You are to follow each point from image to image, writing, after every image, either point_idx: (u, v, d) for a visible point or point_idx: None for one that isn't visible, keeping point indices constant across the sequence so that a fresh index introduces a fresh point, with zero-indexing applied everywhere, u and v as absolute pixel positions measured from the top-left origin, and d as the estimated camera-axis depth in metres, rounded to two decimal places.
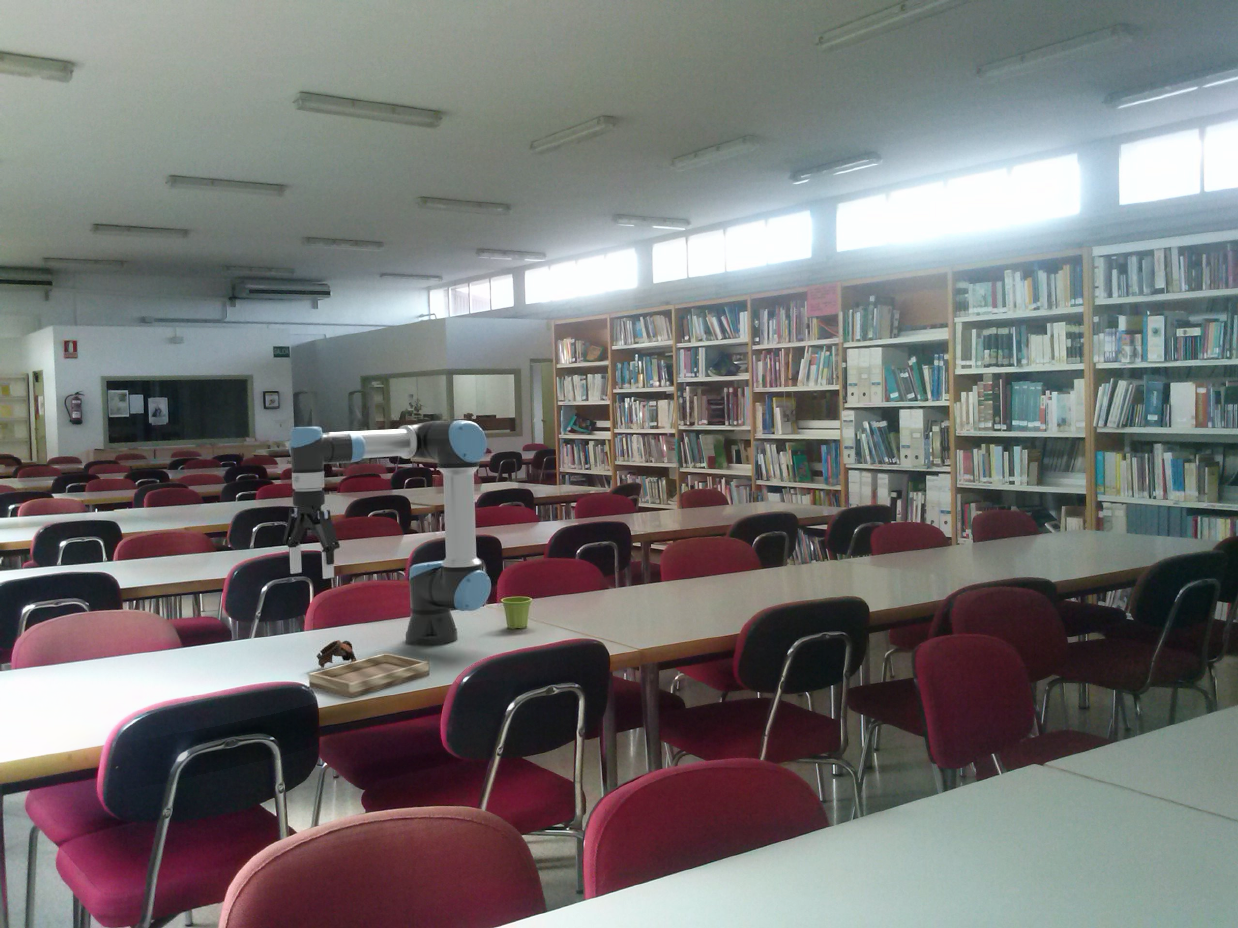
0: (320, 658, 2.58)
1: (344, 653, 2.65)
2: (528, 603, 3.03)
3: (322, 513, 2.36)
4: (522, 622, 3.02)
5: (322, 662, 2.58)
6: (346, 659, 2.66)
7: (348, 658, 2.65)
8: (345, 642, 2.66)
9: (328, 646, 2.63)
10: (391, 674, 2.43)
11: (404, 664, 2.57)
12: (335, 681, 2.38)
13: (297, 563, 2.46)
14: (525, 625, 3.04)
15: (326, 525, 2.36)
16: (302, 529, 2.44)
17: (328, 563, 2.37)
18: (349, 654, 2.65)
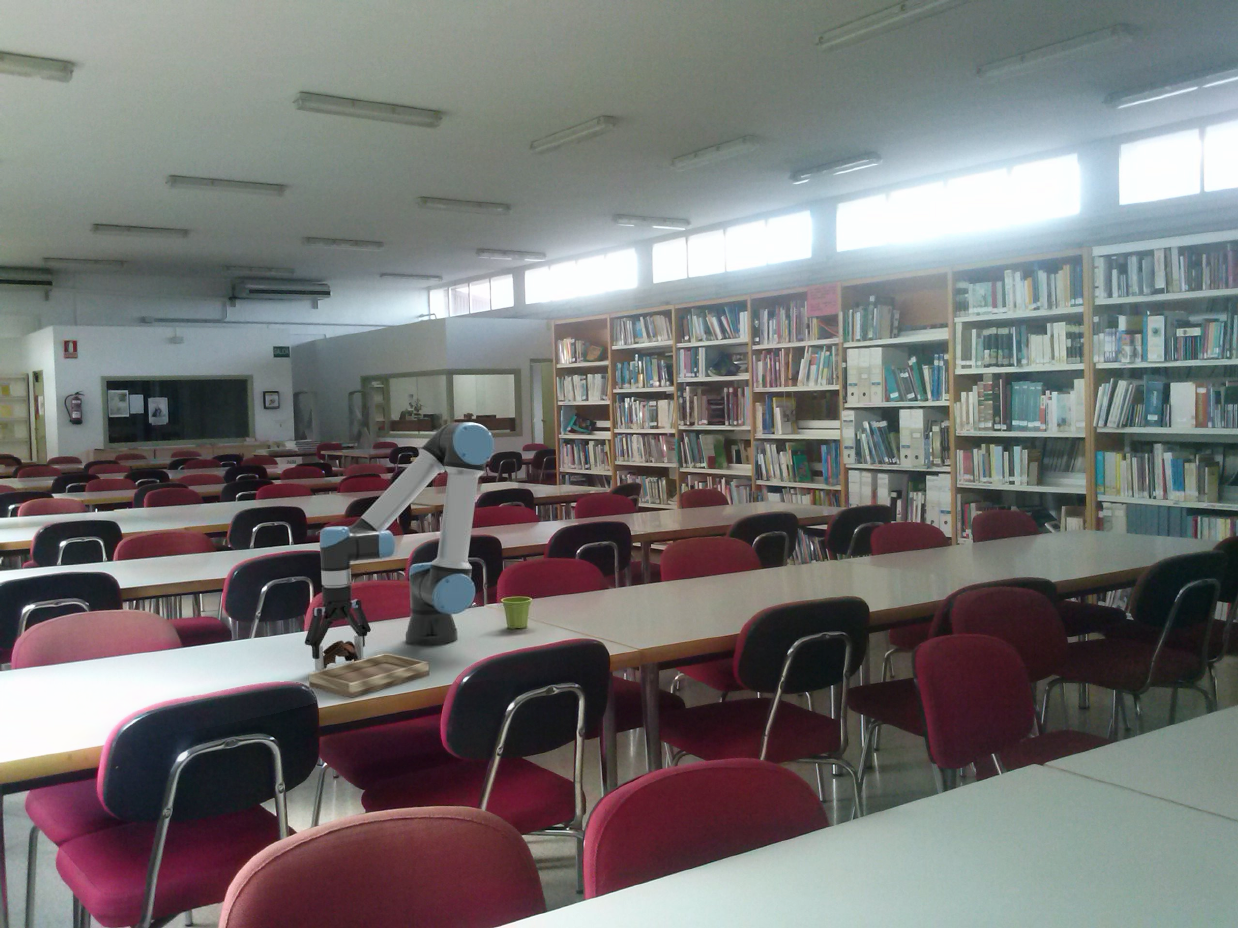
0: (323, 658, 2.57)
1: (347, 653, 2.65)
2: (528, 603, 3.03)
3: (313, 610, 2.57)
4: (522, 622, 3.02)
5: (325, 663, 2.57)
6: (349, 659, 2.65)
7: (351, 658, 2.65)
8: (348, 642, 2.65)
9: (331, 646, 2.63)
10: (391, 674, 2.43)
11: (404, 664, 2.57)
12: (335, 681, 2.38)
13: (358, 651, 2.67)
14: (525, 625, 3.04)
15: (312, 621, 2.56)
16: (349, 620, 2.65)
17: None
18: (352, 654, 2.64)
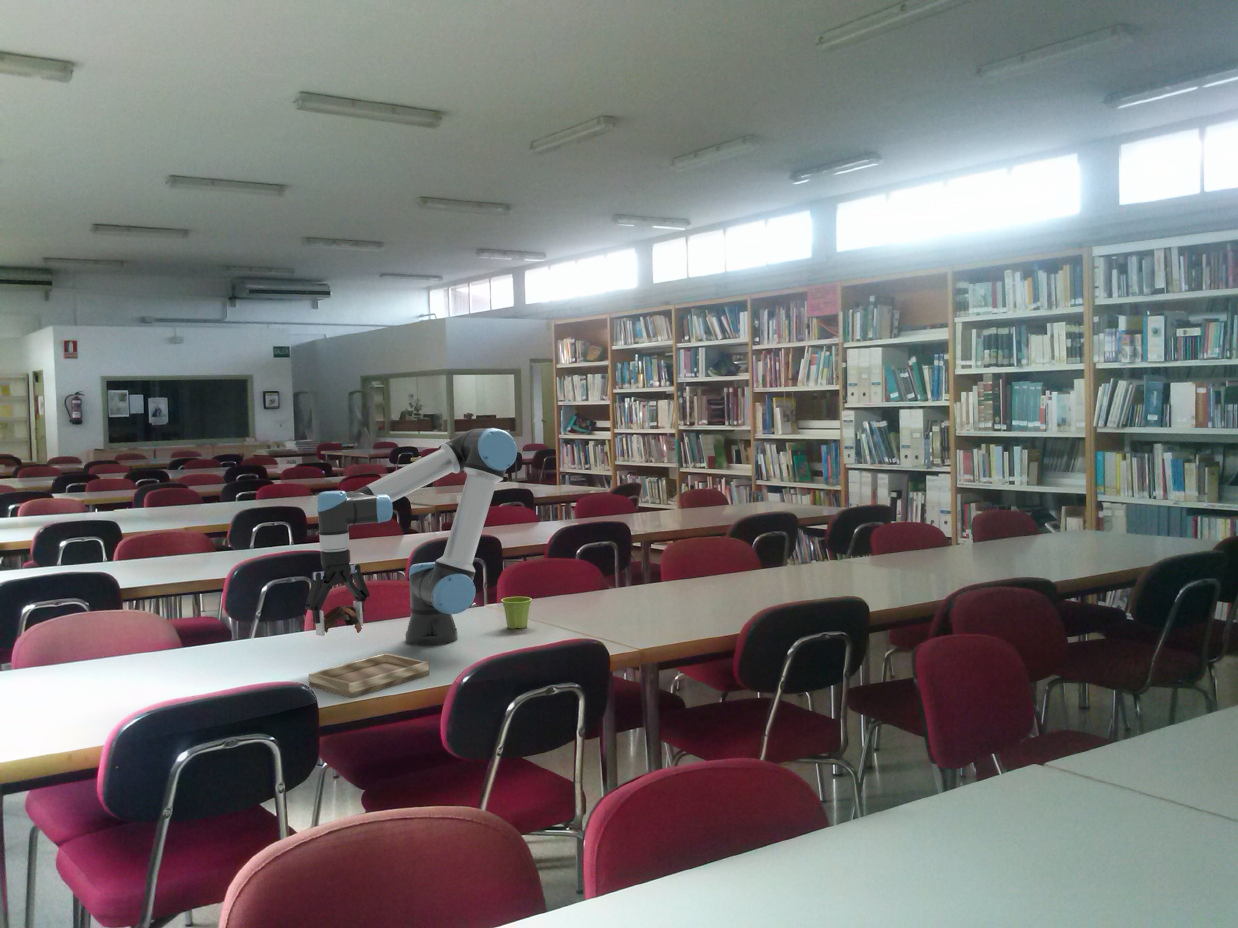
0: (324, 623, 2.57)
1: (347, 618, 2.65)
2: (528, 603, 3.03)
3: (312, 574, 2.57)
4: (522, 622, 3.02)
5: (326, 627, 2.57)
6: (350, 624, 2.65)
7: (352, 623, 2.65)
8: (348, 607, 2.65)
9: (331, 611, 2.62)
10: (391, 674, 2.43)
11: (404, 664, 2.57)
12: (335, 681, 2.38)
13: (357, 616, 2.67)
14: (525, 625, 3.04)
15: (312, 586, 2.56)
16: (348, 585, 2.64)
17: None
18: (353, 619, 2.64)
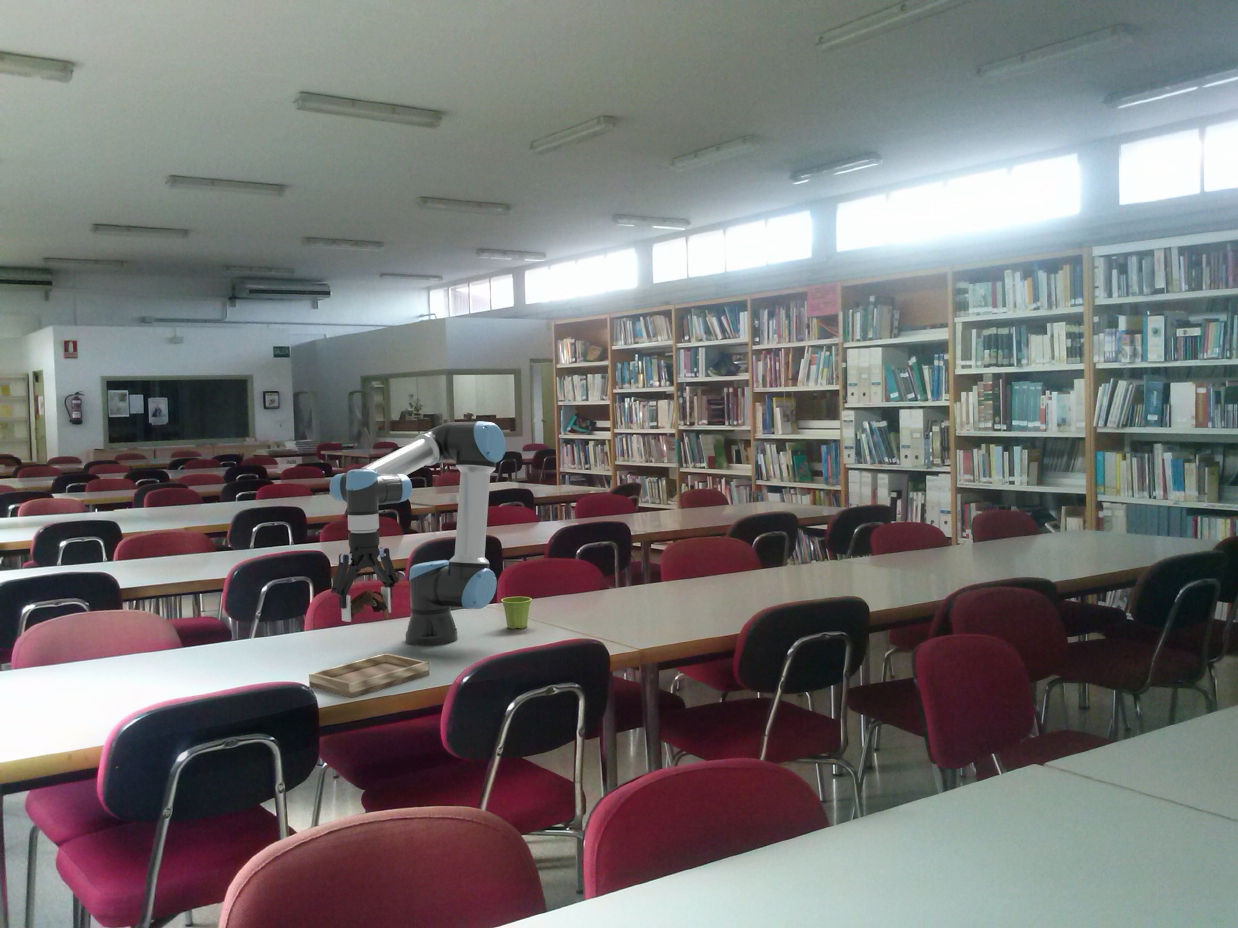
0: None
1: (375, 604, 2.50)
2: (528, 603, 3.03)
3: (339, 557, 2.42)
4: (522, 622, 3.02)
5: (352, 612, 2.42)
6: (377, 610, 2.50)
7: (379, 609, 2.50)
8: (376, 592, 2.50)
9: (358, 596, 2.48)
10: (391, 674, 2.43)
11: (404, 664, 2.57)
12: (335, 681, 2.38)
13: None
14: (525, 625, 3.04)
15: (339, 569, 2.41)
16: (376, 569, 2.50)
17: None
18: (380, 605, 2.49)
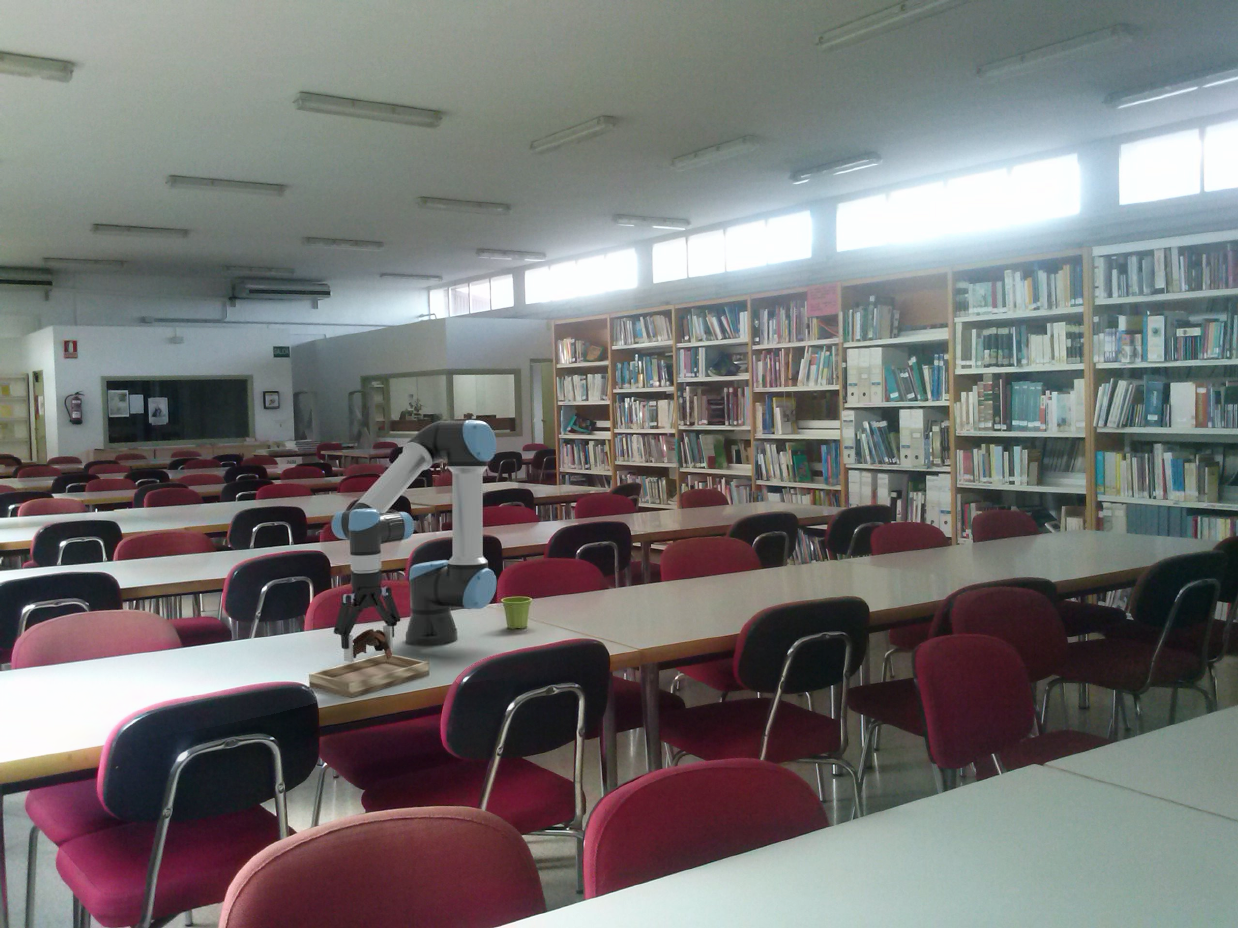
0: (353, 648, 2.43)
1: (377, 643, 2.50)
2: (528, 603, 3.03)
3: (341, 597, 2.42)
4: (522, 622, 3.02)
5: (354, 652, 2.43)
6: (379, 649, 2.51)
7: (381, 648, 2.51)
8: (378, 631, 2.51)
9: (360, 635, 2.48)
10: (391, 674, 2.43)
11: (404, 664, 2.57)
12: (335, 681, 2.38)
13: None
14: (525, 625, 3.04)
15: (341, 609, 2.42)
16: (378, 608, 2.50)
17: None
18: (382, 644, 2.50)
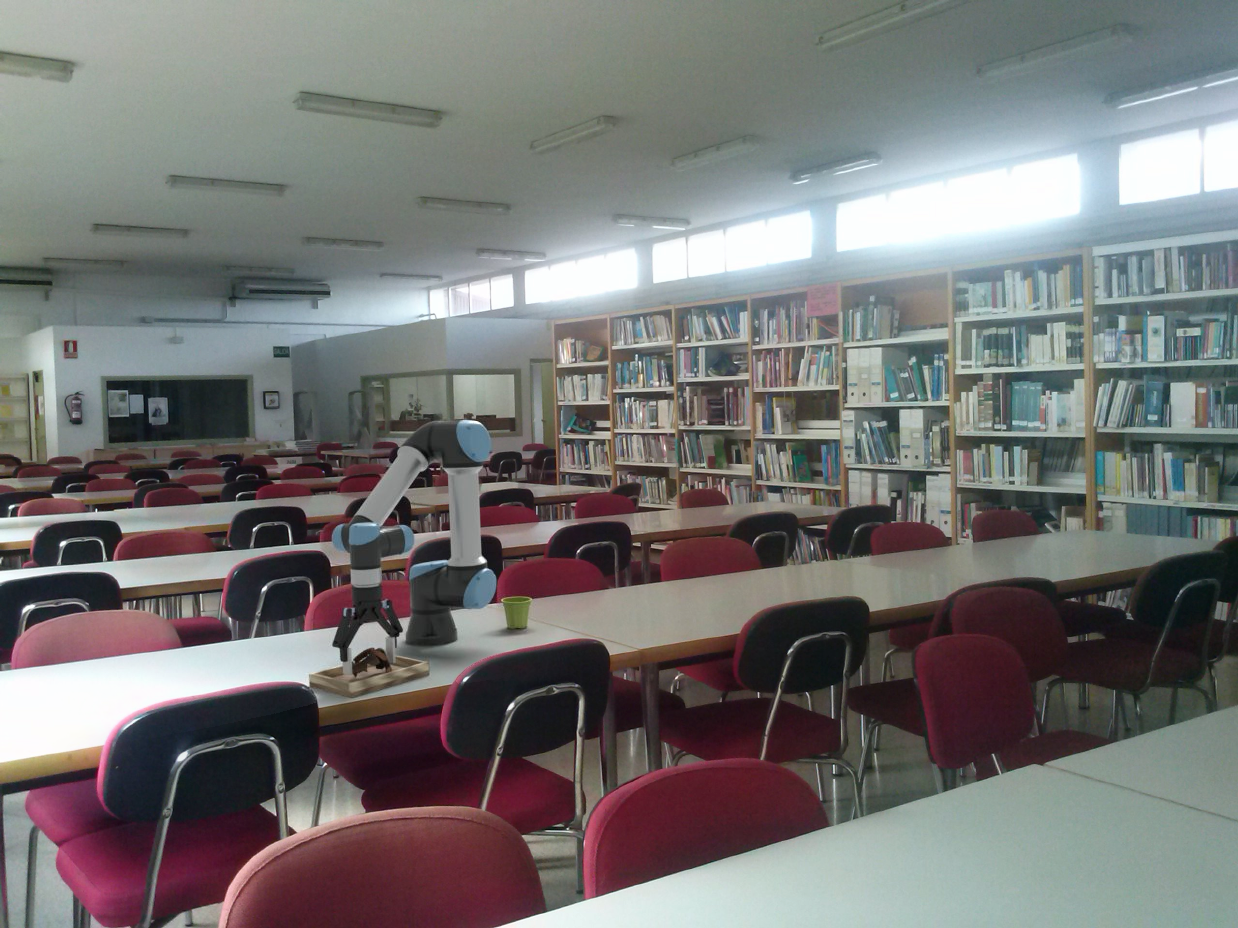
0: (354, 667, 2.43)
1: (378, 661, 2.51)
2: (528, 603, 3.03)
3: (342, 610, 2.43)
4: (522, 622, 3.02)
5: (356, 671, 2.43)
6: (380, 667, 2.51)
7: (382, 666, 2.51)
8: (379, 649, 2.51)
9: (361, 654, 2.49)
10: (391, 674, 2.43)
11: (404, 664, 2.57)
12: (335, 681, 2.38)
13: (390, 653, 2.53)
14: (525, 625, 3.04)
15: (341, 622, 2.42)
16: (380, 621, 2.50)
17: None
18: (383, 662, 2.50)
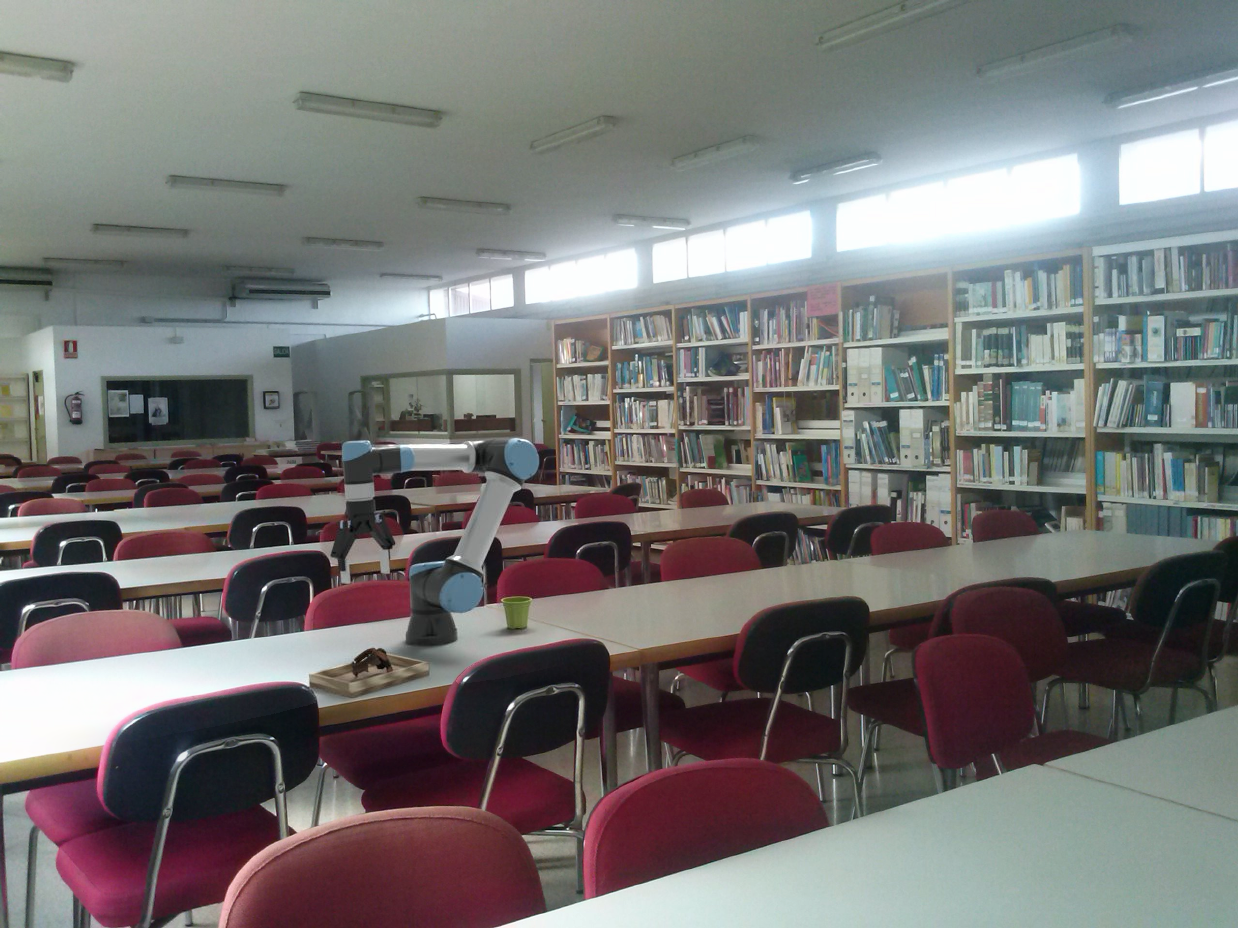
0: (355, 667, 2.43)
1: (378, 661, 2.51)
2: (528, 603, 3.03)
3: (339, 523, 2.56)
4: (522, 622, 3.02)
5: (357, 671, 2.43)
6: (381, 667, 2.51)
7: (383, 666, 2.51)
8: (379, 649, 2.51)
9: (362, 654, 2.48)
10: (391, 674, 2.43)
11: (404, 664, 2.57)
12: (335, 681, 2.38)
13: (384, 564, 2.67)
14: (525, 625, 3.04)
15: (338, 534, 2.55)
16: (374, 534, 2.64)
17: None
18: (384, 662, 2.50)
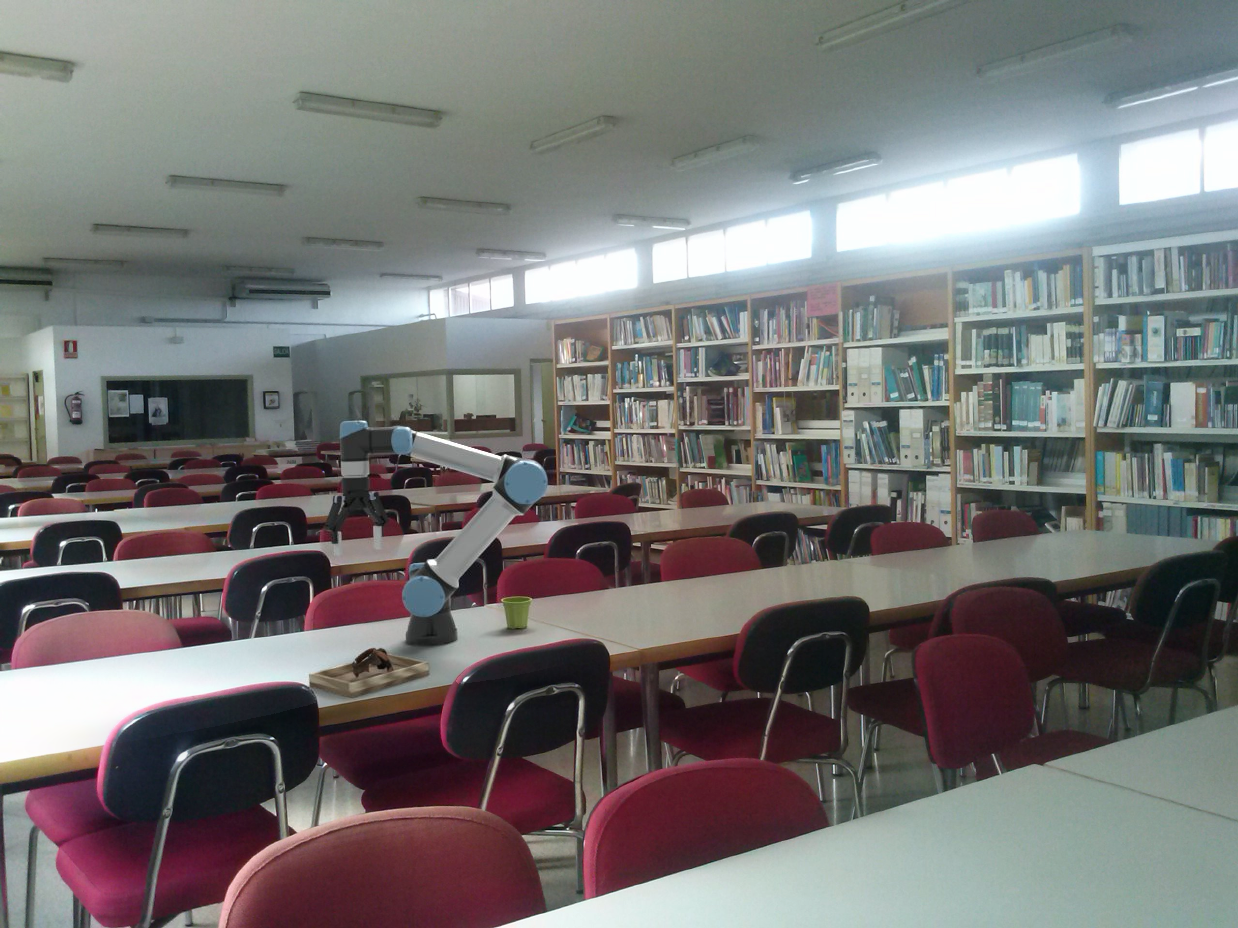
0: (356, 667, 2.43)
1: (379, 661, 2.51)
2: (528, 603, 3.03)
3: (333, 498, 2.68)
4: (522, 622, 3.02)
5: (357, 671, 2.43)
6: (381, 668, 2.51)
7: (383, 666, 2.51)
8: (380, 650, 2.51)
9: (363, 654, 2.48)
10: (391, 674, 2.43)
11: (404, 664, 2.57)
12: (335, 681, 2.38)
13: (377, 541, 2.79)
14: (525, 625, 3.04)
15: (332, 508, 2.68)
16: (368, 511, 2.76)
17: None
18: (385, 662, 2.50)
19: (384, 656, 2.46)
